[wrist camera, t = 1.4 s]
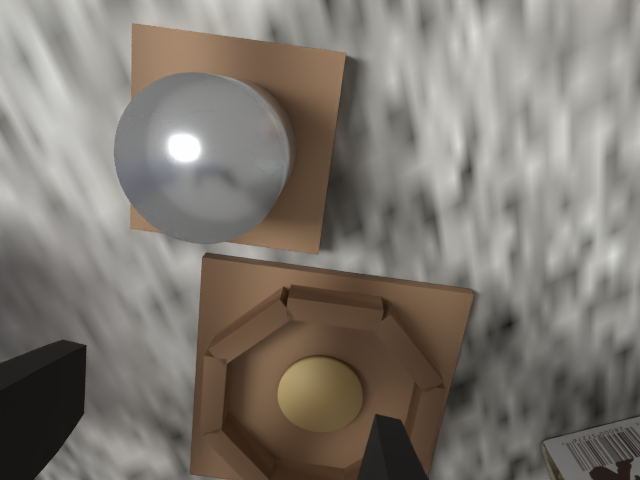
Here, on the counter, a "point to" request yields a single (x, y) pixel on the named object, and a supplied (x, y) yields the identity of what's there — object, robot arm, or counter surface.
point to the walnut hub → (316, 367)
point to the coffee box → (596, 453)
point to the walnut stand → (288, 88)
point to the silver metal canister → (204, 155)
